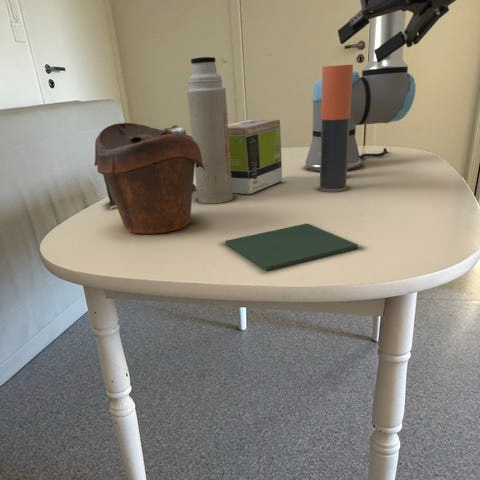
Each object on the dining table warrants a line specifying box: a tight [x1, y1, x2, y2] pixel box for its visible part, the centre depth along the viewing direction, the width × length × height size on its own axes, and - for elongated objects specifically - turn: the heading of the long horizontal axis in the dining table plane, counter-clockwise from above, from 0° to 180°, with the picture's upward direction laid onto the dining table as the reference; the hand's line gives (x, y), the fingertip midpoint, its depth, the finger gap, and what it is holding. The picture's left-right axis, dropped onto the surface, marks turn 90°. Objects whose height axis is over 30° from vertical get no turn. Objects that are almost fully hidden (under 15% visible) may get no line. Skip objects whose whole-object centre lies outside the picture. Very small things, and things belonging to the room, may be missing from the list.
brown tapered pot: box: [93, 122, 206, 235], centre depth 82 cm, size 18×20×18 cm
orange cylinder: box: [321, 64, 354, 120], centre depth 94 cm, size 6×6×10 cm
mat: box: [225, 223, 359, 272], centre depth 71 cm, size 16×14×1 cm
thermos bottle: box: [186, 56, 234, 204], centre depth 95 cm, size 8×8×28 cm
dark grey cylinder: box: [318, 118, 350, 193], centre depth 100 cm, size 6×6×15 cm
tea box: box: [228, 119, 283, 195], centre depth 107 cm, size 15×10×15 cm, turn 145°
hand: (358, 47), depth 96 cm, fingers open, 13 cm apart
